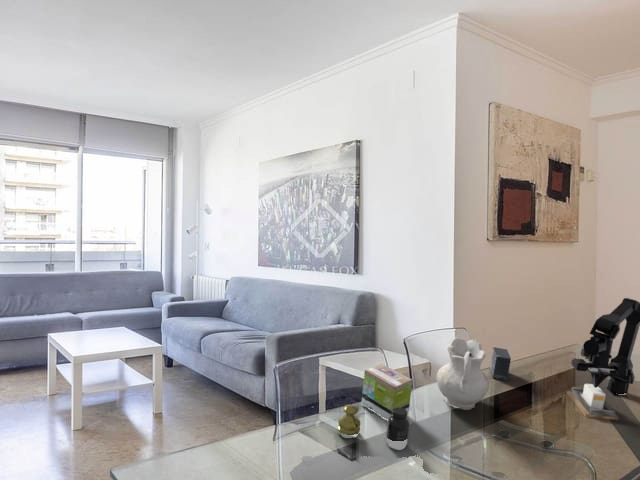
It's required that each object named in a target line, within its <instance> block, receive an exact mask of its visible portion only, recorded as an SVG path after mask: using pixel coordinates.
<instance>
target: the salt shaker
mask: <svg viewBox="0 0 640 480" xmlns="http://www.w3.org/2000/svg"><path fill="white" fill-rule="evenodd" d="M342 409H343V412H344V413H345V414H344V415H342V416H340V417H339V419H338V425H337V432H338V431H339V432H340V433H343V434H347V435H354V434H358V433H359V432H360V431H361V424H362V423H361V419H359V417H357V416H356V414H357V413H359V408H358V407H357V406H356V405H354V404H347V405H344V406H343V407H342ZM360 433H361V432H360ZM360 433H359V434H360Z"/></svg>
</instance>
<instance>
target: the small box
mask: <svg viewBox="0 0 640 480" xmlns="http://www.w3.org/2000/svg"><path fill="white" fill-rule="evenodd" d="M511 359H512V358H511V356H510V353H509V351H508V348H500V347H493V348H492V352H491V361H490V365H489V370H490V374H491V376H492V379H495V378H496V380H501V379H502V380H501V381H508V377H509V372H510V366H511Z"/></svg>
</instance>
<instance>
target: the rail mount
mask: <svg viewBox="0 0 640 480" xmlns="http://www.w3.org/2000/svg"><path fill="white" fill-rule="evenodd" d="M583 390H584V387H575V386H572V387H571V390H567V391H566V394H567V395H568V397H569V398H570V399H571V400H572V401H573V403H574V404H575V405H576V407H577V408H578V409H579V411H581V413H582V414H583V415H584V417H587V418H593V419H594V418H596V419H604V420H605V419H606V420H614V421H619V419H620V417H619V416H618V415H617V414H616V411H615V410H612V408H611V407H610V406H609V405H608V404H607V403H606V402H605V401H604V405H603V409H600V408H591V407H590V406H589V405H588V403H587V402H586V401H585V400H584V399H583V397H582V395H583Z"/></svg>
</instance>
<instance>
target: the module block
mask: <svg viewBox="0 0 640 480" xmlns="http://www.w3.org/2000/svg"><path fill="white" fill-rule="evenodd" d="M583 388H584V390H583V395H582V397H583V399H584V400H585V401H586V402H587V403H588V405H589V406H590V407H591V408H600V409H603V405H604V402H605V399H606V395H607V394H606V393H605V392H604V391H603V390H602V389H601V388H600V387H599V386H598V387H597V388H596V387H594V386H593V383H584V385H583Z"/></svg>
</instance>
